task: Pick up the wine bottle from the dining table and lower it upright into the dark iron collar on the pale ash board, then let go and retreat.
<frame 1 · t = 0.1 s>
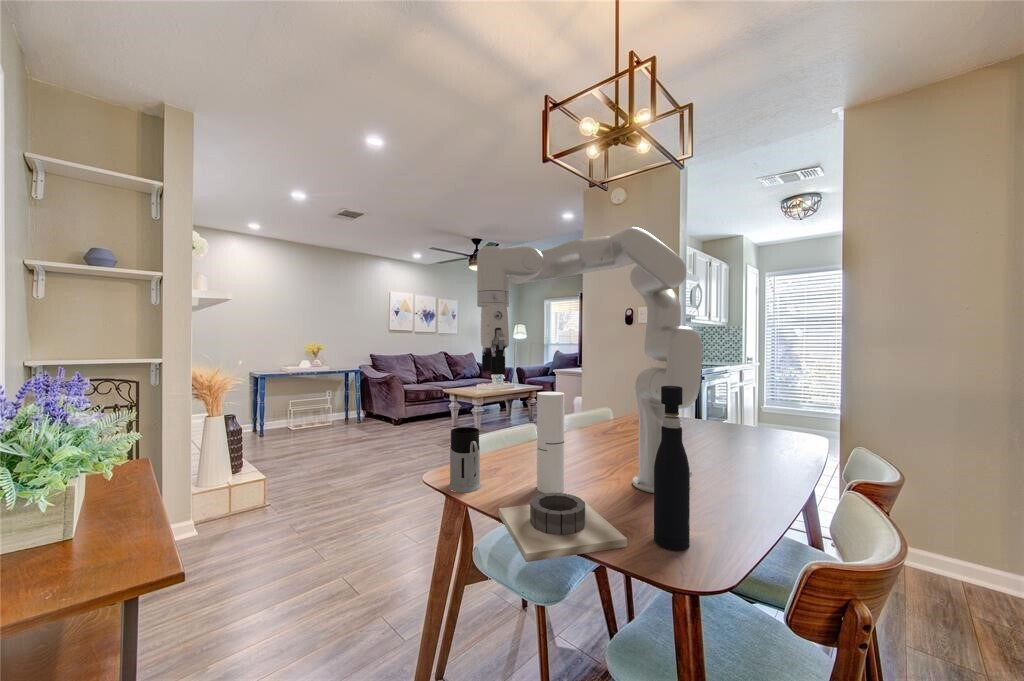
hand: (493, 372, 97), 31 cm above the table, tool pointing down, fingers open, 9 cm apart
wine bottle: (671, 543, 79), on the table
cylindrical container: (550, 489, 107), on the table
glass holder: (468, 490, 106), on the table
bottle stand: (557, 529, 84), on the table
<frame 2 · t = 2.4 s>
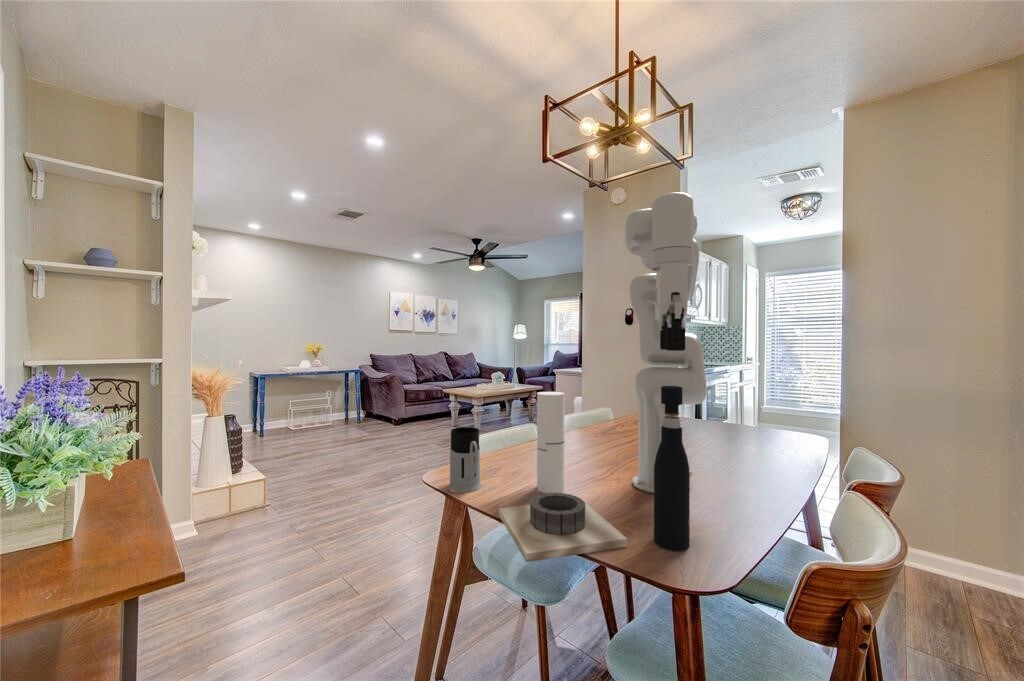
hand: (671, 350, 78), 37 cm above the table, tool pointing down, fingers open, 9 cm apart
nothing on the table moved.
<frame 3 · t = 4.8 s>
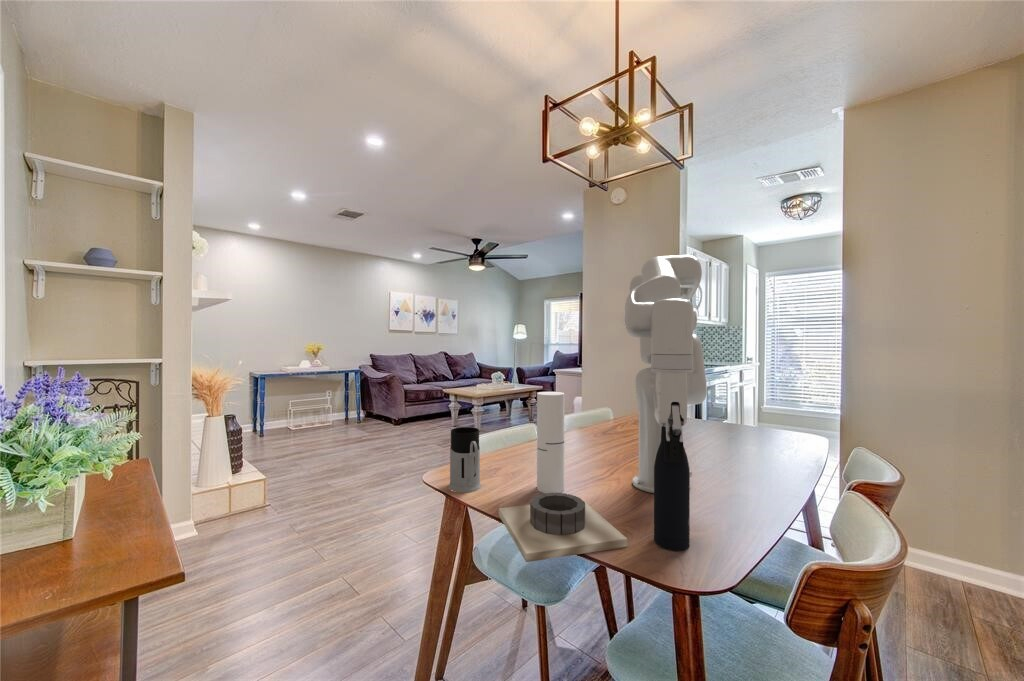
hand: (671, 457, 79), 16 cm above the table, tool pointing down, fingers closed on wine bottle, 5 cm apart
wine bottle: (671, 543, 79), on the table, touching gripper
everything else where it was.
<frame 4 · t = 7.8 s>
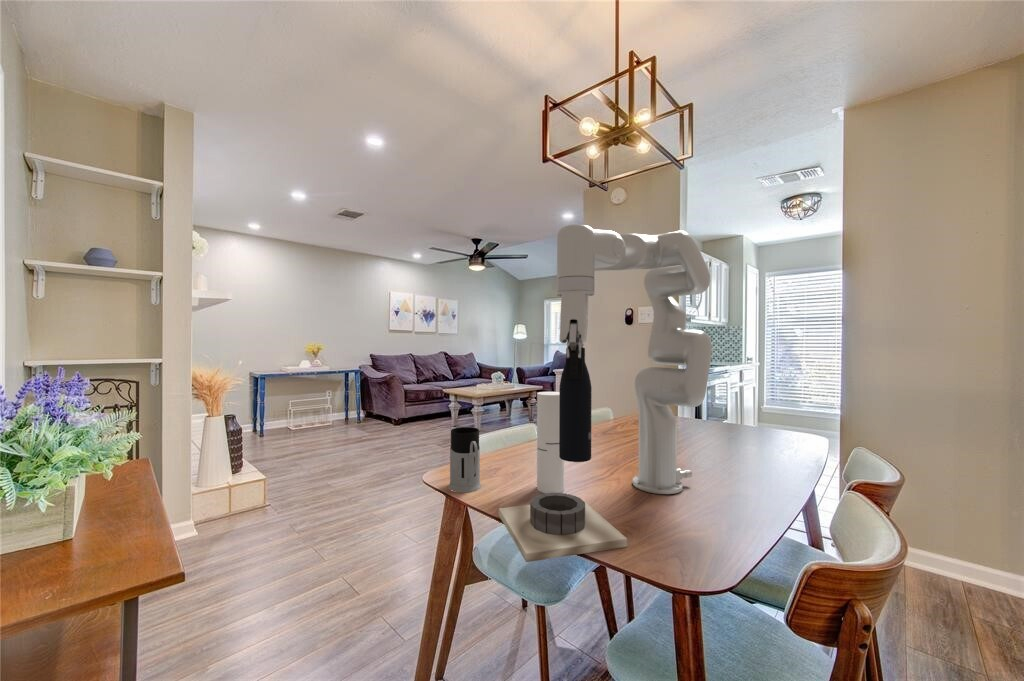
hand: (575, 376, 83), 32 cm above the table, tool pointing down, fingers closed on wine bottle, 5 cm apart
wine bottle: (575, 458, 83), point 15 cm above the table, touching gripper
everything else where it was.
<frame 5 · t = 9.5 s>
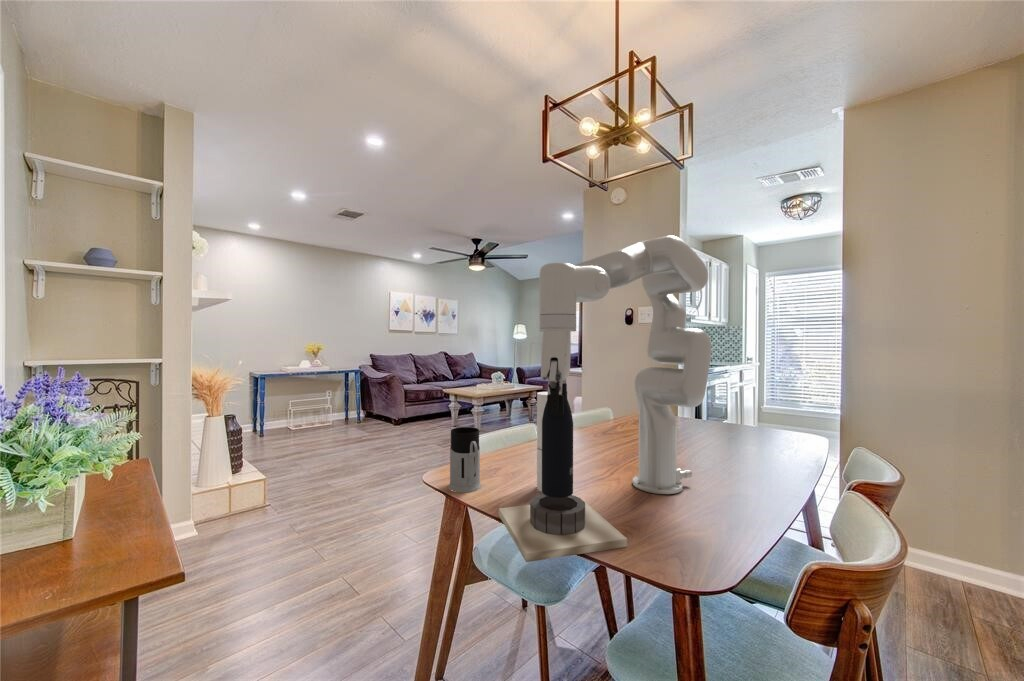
hand: (557, 411, 84), 24 cm above the table, tool pointing down, fingers closed on wine bottle, 5 cm apart
wine bottle: (557, 492, 84), point 8 cm above the table, touching gripper
everything else where it was.
when the fingers open (19 cm above the table, at t = 10.8 s): wine bottle drops 1 cm, resting on bottle stand.
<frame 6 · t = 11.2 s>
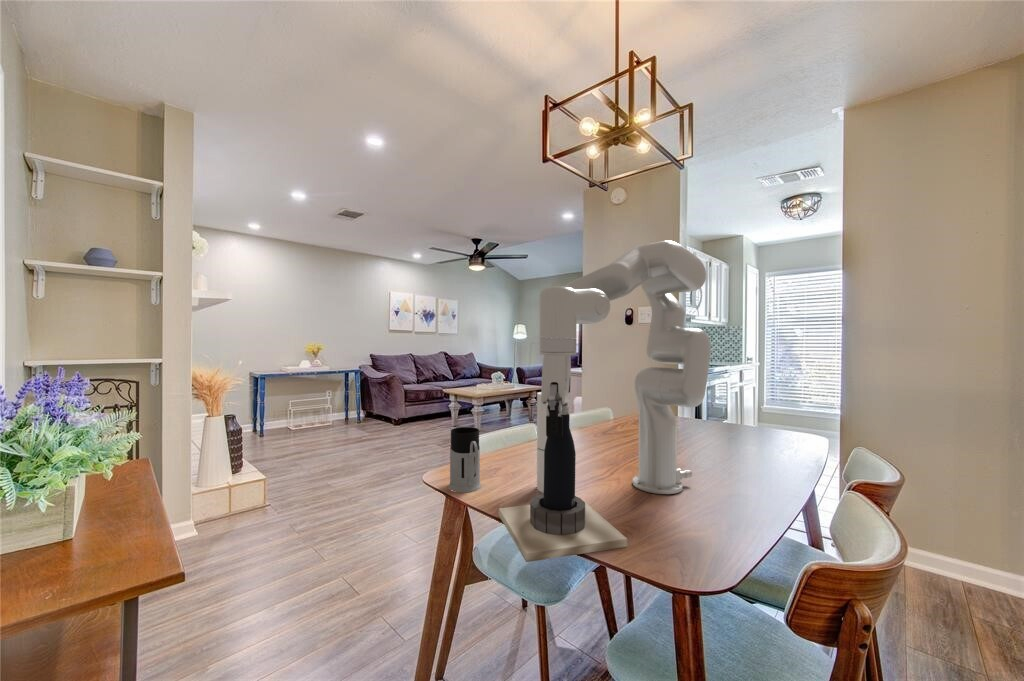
hand: (557, 431, 84), 20 cm above the table, tool pointing down, fingers open, 9 cm apart
wine bottle: (558, 523, 84), point 1 cm above the table, touching bottle stand
everything else where it was.
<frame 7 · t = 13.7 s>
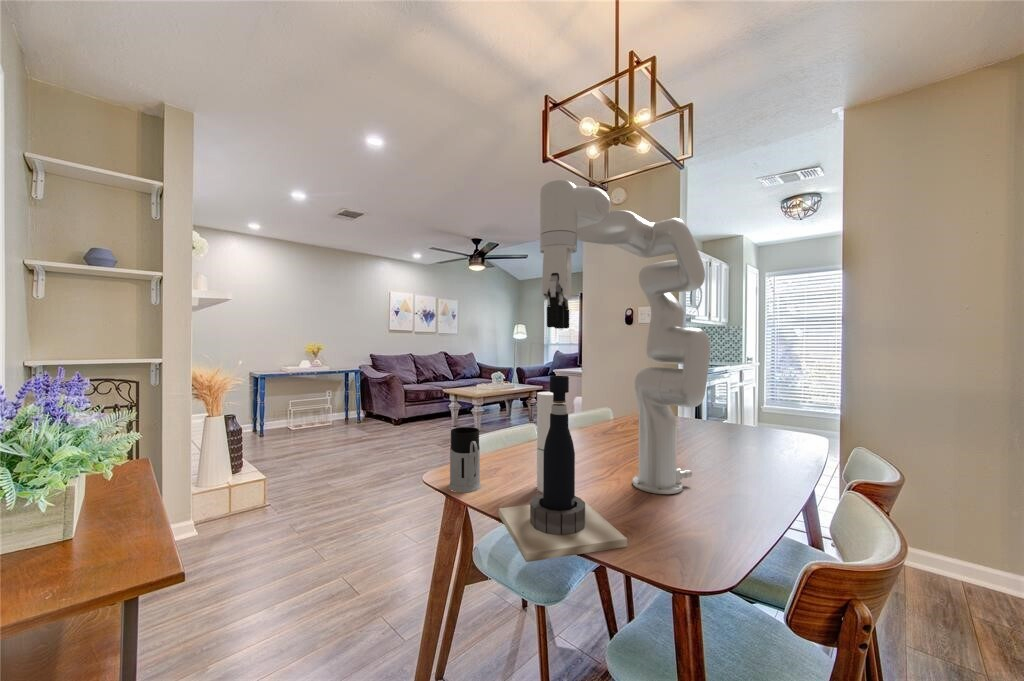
hand: (558, 327, 84), 41 cm above the table, tool pointing down, fingers open, 9 cm apart
nothing on the table moved.
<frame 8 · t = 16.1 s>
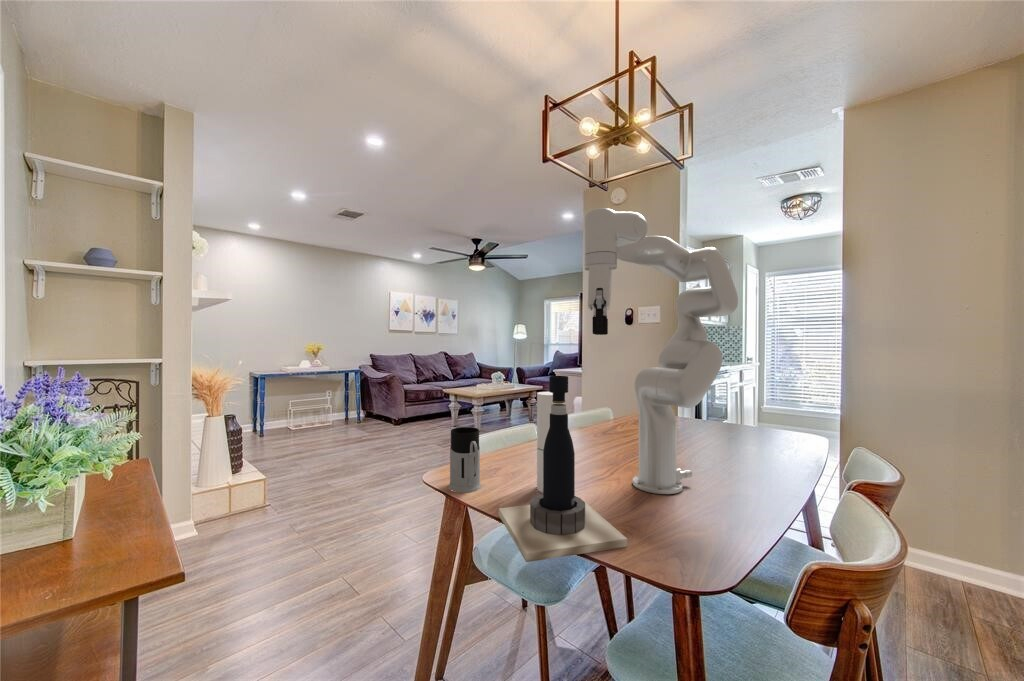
hand: (600, 334, 98), 40 cm above the table, tool pointing down, fingers open, 9 cm apart
nothing on the table moved.
at the end: wine bottle 0.2 cm off-centre on the bottle stand, point 1.3 cm above the bottle stand's base; wine bottle tilted 0°; the gripper is holding nothing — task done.
